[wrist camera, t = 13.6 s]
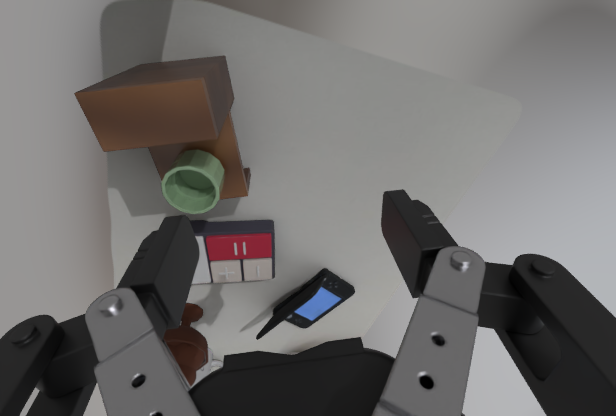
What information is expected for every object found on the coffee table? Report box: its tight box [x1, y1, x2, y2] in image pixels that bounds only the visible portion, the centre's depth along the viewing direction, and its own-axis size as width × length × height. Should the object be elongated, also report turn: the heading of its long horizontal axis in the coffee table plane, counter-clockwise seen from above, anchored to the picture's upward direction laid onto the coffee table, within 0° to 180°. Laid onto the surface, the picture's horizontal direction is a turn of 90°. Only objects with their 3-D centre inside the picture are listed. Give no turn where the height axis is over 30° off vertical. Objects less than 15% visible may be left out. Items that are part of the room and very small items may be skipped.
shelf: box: [75, 56, 251, 199], centre depth 34 cm, size 16×10×14 cm, turn 5°
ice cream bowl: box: [163, 303, 208, 387], centre depth 54 cm, size 11×11×15 cm
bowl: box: [161, 150, 225, 214], centre depth 35 cm, size 6×6×5 cm
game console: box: [256, 269, 355, 340], centre depth 57 cm, size 16×14×9 cm
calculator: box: [190, 220, 275, 284], centre depth 50 cm, size 11×4×15 cm
